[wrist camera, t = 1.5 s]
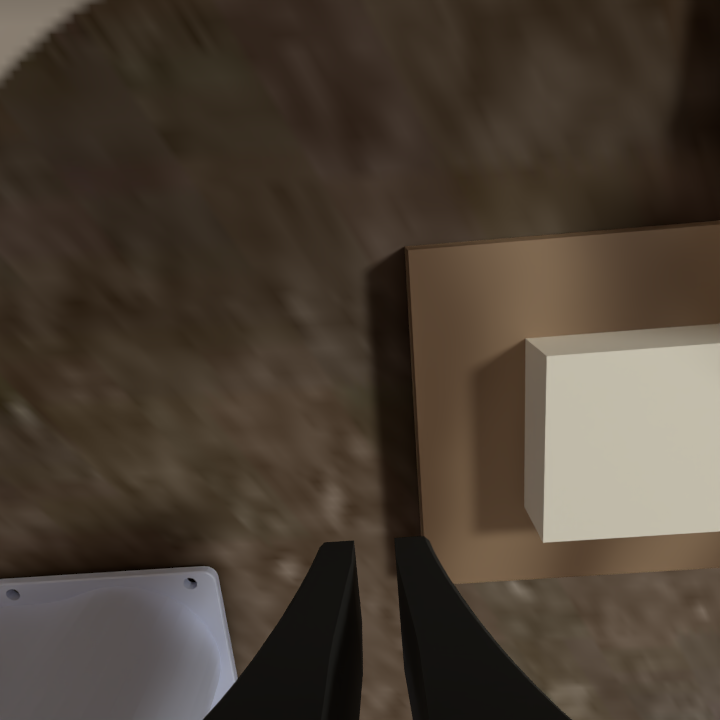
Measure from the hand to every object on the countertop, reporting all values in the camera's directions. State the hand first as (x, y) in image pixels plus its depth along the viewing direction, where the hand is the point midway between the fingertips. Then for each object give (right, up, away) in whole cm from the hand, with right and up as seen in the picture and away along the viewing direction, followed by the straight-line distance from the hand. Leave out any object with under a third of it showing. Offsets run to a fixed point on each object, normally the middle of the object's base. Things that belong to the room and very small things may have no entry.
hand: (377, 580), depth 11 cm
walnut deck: (+8, +3, +8) cm, 11 cm away
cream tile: (+9, +2, +5) cm, 11 cm away
